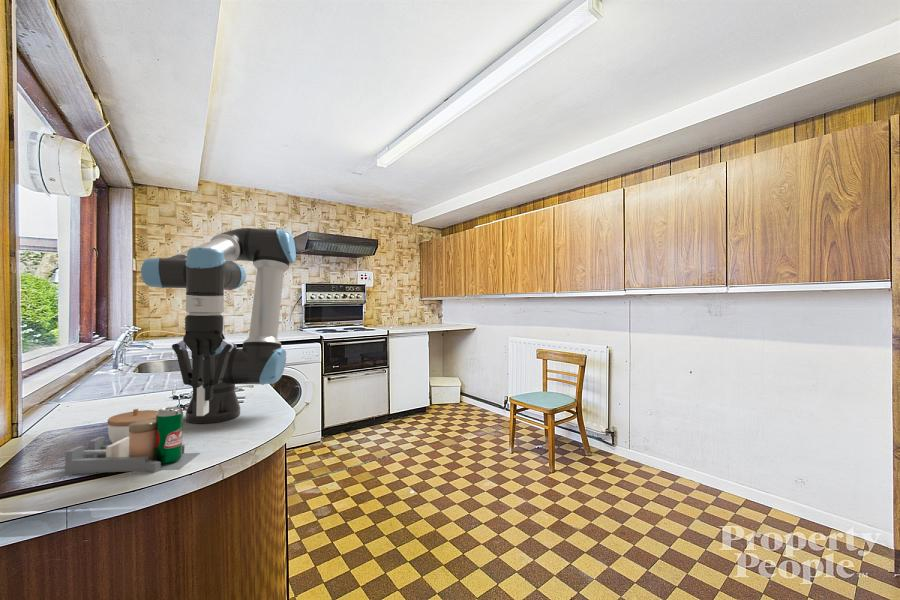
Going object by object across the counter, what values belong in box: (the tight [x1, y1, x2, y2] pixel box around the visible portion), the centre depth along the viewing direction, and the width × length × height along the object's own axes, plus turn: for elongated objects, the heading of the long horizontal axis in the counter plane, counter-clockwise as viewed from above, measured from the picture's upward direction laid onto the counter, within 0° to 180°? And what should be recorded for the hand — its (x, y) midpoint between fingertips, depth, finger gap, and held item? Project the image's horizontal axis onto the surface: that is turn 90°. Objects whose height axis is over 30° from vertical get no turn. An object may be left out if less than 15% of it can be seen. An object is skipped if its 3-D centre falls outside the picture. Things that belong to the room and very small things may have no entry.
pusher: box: [64, 437, 129, 458], centre depth 86 cm, size 6×11×4 cm, turn 99°
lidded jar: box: [107, 408, 158, 444], centre depth 98 cm, size 11×11×9 cm
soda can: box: [154, 406, 184, 465], centre depth 88 cm, size 5×5×12 cm
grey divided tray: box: [64, 435, 201, 475], centre depth 87 cm, size 12×22×5 cm, turn 99°
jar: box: [129, 419, 156, 461], centre depth 87 cm, size 5×5×9 cm
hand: (202, 414), depth 90 cm, fingers closed
